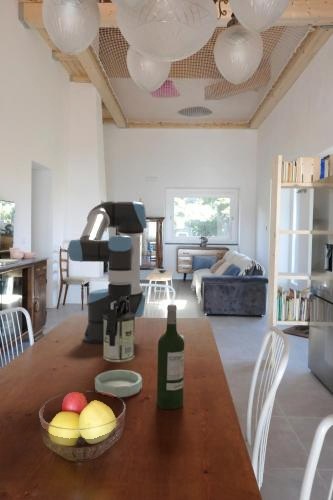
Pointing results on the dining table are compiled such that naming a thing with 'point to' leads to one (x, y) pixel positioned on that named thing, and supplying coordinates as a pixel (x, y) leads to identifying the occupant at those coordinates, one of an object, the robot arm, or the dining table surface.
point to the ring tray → (119, 382)
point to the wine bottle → (170, 365)
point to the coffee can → (121, 338)
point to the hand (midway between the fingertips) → (118, 350)
